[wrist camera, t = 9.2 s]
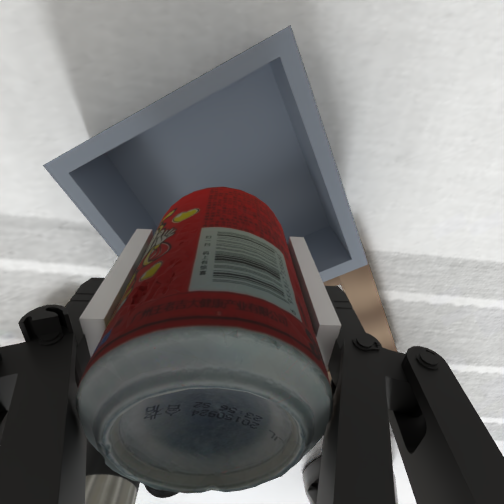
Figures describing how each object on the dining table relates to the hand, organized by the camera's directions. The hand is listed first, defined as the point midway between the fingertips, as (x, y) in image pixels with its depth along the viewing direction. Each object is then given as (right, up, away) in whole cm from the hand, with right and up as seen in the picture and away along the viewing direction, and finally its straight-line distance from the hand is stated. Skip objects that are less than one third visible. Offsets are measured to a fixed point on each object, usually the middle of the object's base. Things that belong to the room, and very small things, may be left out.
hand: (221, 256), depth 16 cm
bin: (-1, +6, +10) cm, 12 cm away
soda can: (0, +1, +2) cm, 3 cm away
